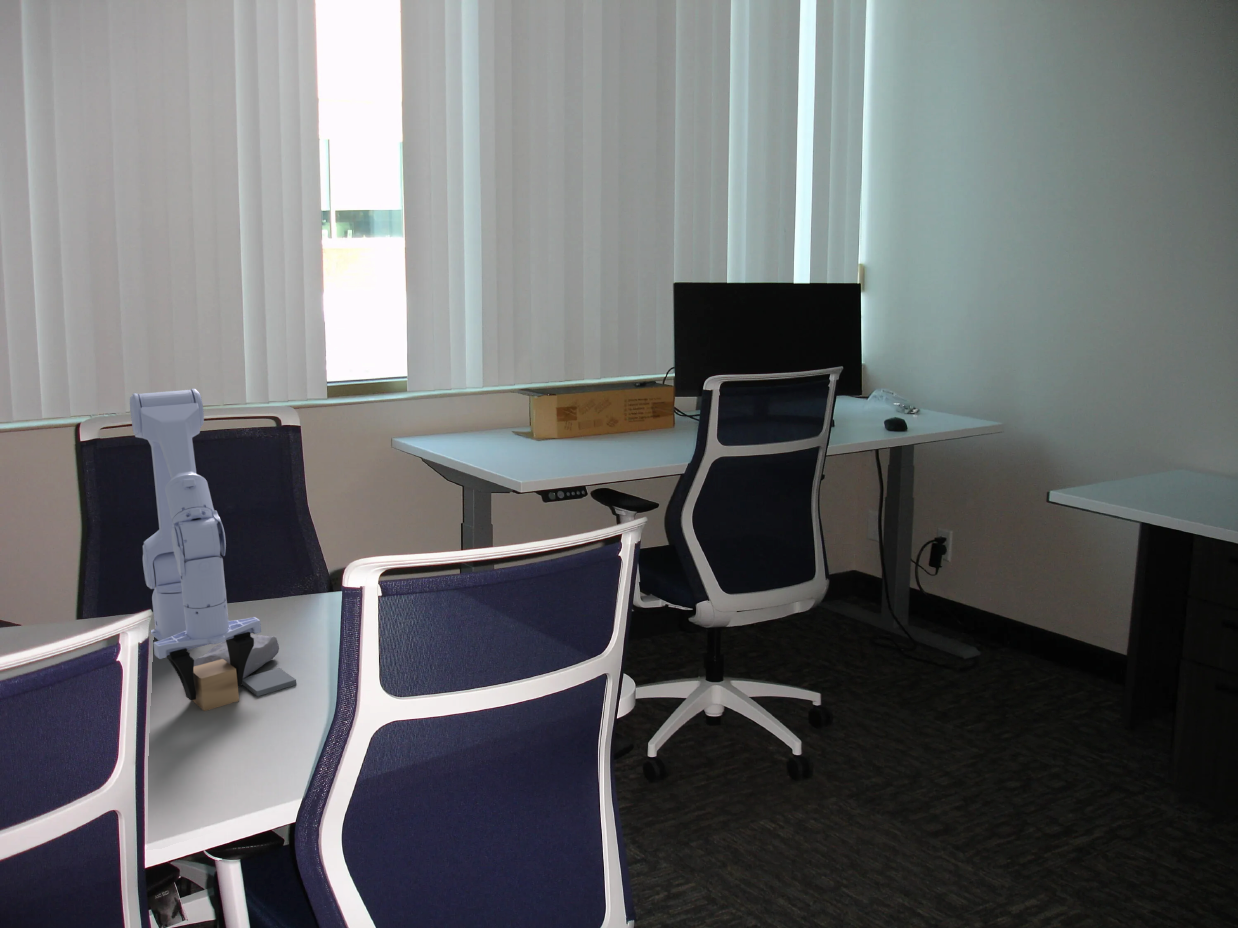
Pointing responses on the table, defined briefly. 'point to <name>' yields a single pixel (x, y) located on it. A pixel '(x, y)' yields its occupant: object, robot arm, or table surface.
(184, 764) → the table surface
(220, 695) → the tan cube
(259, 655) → the stone block
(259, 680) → the charcoal pad
